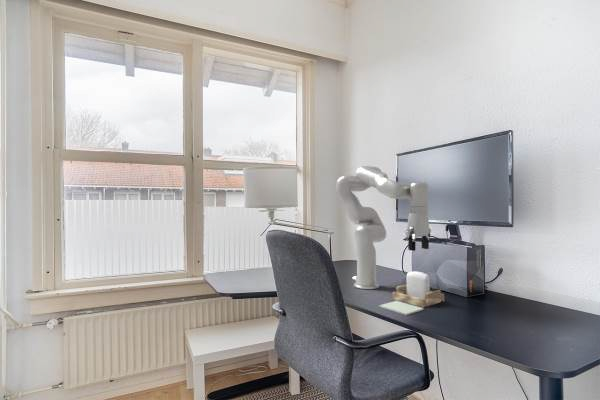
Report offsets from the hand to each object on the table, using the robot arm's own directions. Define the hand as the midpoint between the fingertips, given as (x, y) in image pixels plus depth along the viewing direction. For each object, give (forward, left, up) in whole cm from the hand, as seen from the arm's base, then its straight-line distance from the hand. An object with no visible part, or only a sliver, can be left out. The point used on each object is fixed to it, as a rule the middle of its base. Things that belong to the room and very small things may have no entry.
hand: (418, 249), depth 147 cm
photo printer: (0, 0, -22) cm, 22 cm away
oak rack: (0, 0, -22) cm, 22 cm away
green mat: (+3, -16, -22) cm, 27 cm away
